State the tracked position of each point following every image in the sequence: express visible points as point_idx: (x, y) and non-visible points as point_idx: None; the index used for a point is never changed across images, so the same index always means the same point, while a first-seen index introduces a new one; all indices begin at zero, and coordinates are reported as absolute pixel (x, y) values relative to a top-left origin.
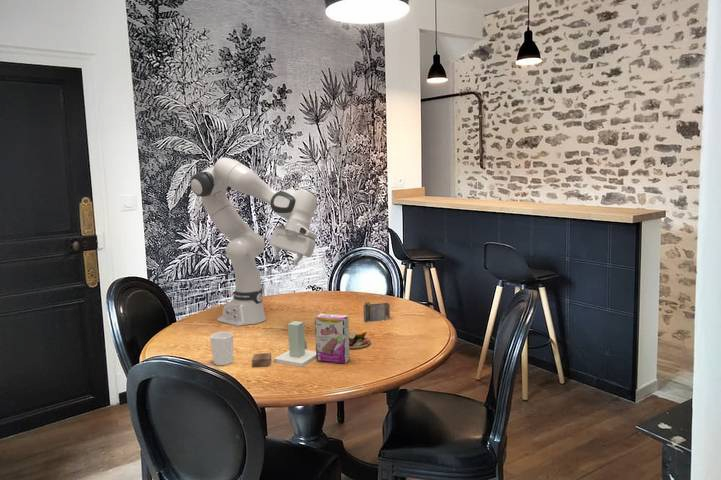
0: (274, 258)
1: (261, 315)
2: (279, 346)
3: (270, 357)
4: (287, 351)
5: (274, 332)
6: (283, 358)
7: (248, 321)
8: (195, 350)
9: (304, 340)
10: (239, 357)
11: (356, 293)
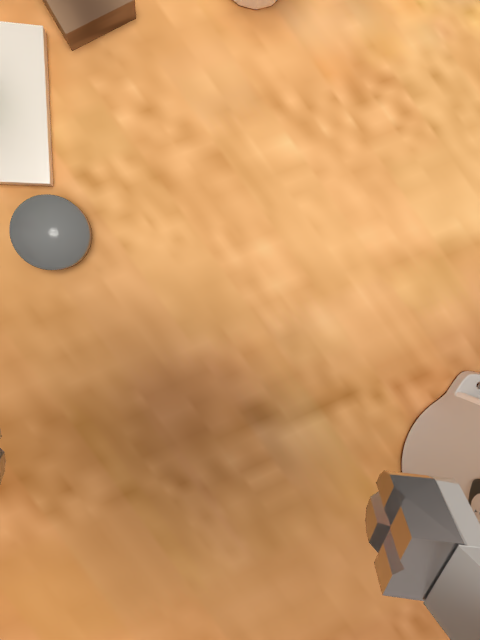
0: (438, 478)
1: (422, 470)
2: (148, 219)
3: (49, 7)
4: (43, 132)
5: (278, 366)
6: (1, 42)
7: (442, 408)
8: (439, 58)
9: (37, 264)
10: (225, 39)
11: None
